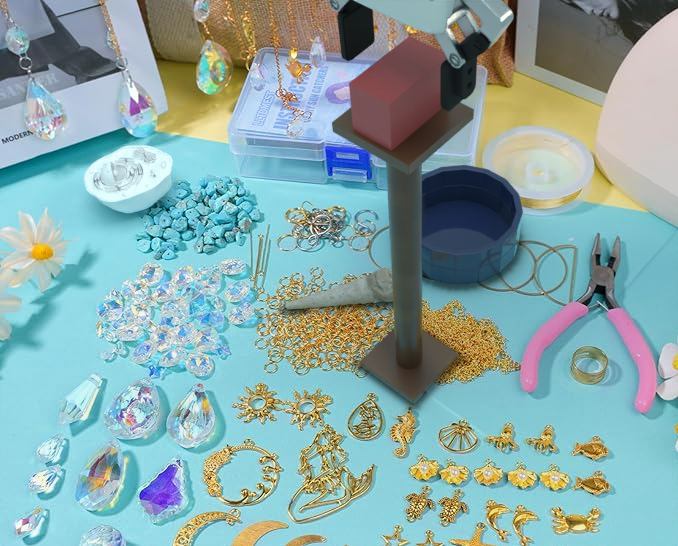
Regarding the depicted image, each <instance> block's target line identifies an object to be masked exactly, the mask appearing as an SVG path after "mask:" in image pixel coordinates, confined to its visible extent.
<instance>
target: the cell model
mask: <svg viewBox="0 0 678 546" xmlns="http://www.w3.org/2000/svg"><path fill="white" fill-rule="evenodd" d="M172 173H173V158H172V156H171V155H170V154H168V153H167V152H165V151H163V150H160V149H158V148H156V147H154V146H151V145H125V146H122V147H120V148H118V149H117V150H115V151H113V152H111V153H109V154H107V155H105V156H103V157H100V158H98V159H97V160H95V161H94V162H93V163H91V164H90V166H88V167H87V169H86V170H85V172H84V174H83V183H84V186H85V189H86V191H87V192H88V193H89V194H90V195H92V196H93V197H94V198H95V199H96V200H98V201H99V202H100V203H101V204H102V205H104V206H106V207H108V208H110V209H112V210H114V211H116V212H120V213H124V214H133V213H137V212H140V211H144V210H147V209H148V208H150V207H152V206H153V205H155V203H157V202H158V201H159V200H160V199H162V197H164V196H165V195H166V194H167V193H168V192H169V191H170V189H171V188H172V186H173V185H172V183H173V179H172V177H173V176H172V175H173V174H172Z"/></svg>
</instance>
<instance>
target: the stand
mask: <svg viewBox="0 0 678 546" xmlns="http://www.w3.org/2000/svg"><path fill="white" fill-rule="evenodd" d="M474 114H475V109H474V108H472V107H470V106H469V105H467V104H465V103H463V102H460V103H459V104H457V105H456V106H455V107H454V108H453V109H452V110H451V111H449V112H448V111H446V110H444V109H441V110H440V111H438V112H437V113H436V114H435V115H434V116H432V117H431V118H430V119H429V120H428V121H427V122H425V123H424V124H423V125H422V126H421V127H419V128H418V129H417V130H416V131H415V132H414V133H412V134H411V135H410V136H409V137H408V138H406V139H405V140H404V141H403V142H402V143H401V144H399V145H398V146H397V147H396V148H395V149H393V150H392V151H390V150H389V149H387V148H385V147H383V146H381V145H380V144H378V143H376V142H374V141H373V140H371V139H369V138H367V137H365V136H364V135H362V134H360V133H358V132H356V131H355V130H353V122H352V112H351V107H349V108H348V109H346V110H345V111H344V112H343V113H342V114H341V115H339V116H338V117H336V118H335V119H333V121H332V122H331V128H332V133H333V134H336V135H337V136H339V137H341V138H342V139H344V140H346V141H348V142H350V143H351V144H353V145H355V146H357V147H358V148H361V149H362V150H364V151H365V152H367V153H369V154H371V155H373V156H374V157H376V158H378V159H380V160H381V161H383V162H385V169H386V189H387V210H388V211H387V212H388V228H389V230H388V231H389V246H390V247H389V248H390V249H389V250H390V270H391V271H392V289H393V301H392V307H393V324H394V327H393V329H392V330H391V331H389V333H388V334H387V335H386V336H385V337H384V338H383V339H382V340H381V341H380V342H379V343H378V344H377V345H376V346H375V347H373V349H372V350H371V351H370V352H368V353H367V354H366V356H364V357H363V359H361V360H360V361H359V365H360V367H361V368H362V369H364V370H365V371H366V372H368V373H369V374H370V375H371V376H373V377H374V378H375V379H377V380H379V381H380V382H381V383H383V385H385V386H387V387H389V388H390V389H391V390H392V391H393V392H395V393H396V394H398V395H399V396H401V397H402V398H404V399H405V400H406V401H407V402H409V403H410V404H411V405H413V406H415V404H416V403H417V402H418V401H420V400H421V398H423V396H425V394H426V393H427V390H428V389H429V388H430V387H431V386H432V385H433V384H434V383H435V382H436V381H437V380H438V379H439V378H440V377H441V376H442V375H443V374H444V373H445V372H446V371H447V370H448V369H449V367H451V365H452V364H453V363H455V362H456V360H457V359H458V358H459V357H460V354H459V353H458V352H456V350H454V349H452V348H451V347H449V346H448V345H446V344H445V343H444V342H442V341H440V340H439V339H437V338H435V337H434V336H433V335H431V334H429V333H428V332H427V331H425V330H424V329H423V274H422V174H423V164H424V163H425V162H426V161H427V160H428V159H429V158H430V157H432V156H433V155H434V154H435V153H436V152H437V151H438V150H440V149H441V148H442V147H443V146H444V145H445V144H446V143H448V142H449V141H450V140H451V139H452V138H453V137H455V136H456V135H457V134H458V133H459V132H461V130H463V129H464V128H465V127H466V126H467V125H468V124H469V123H471V121H473V120H474V116H475V115H474Z"/></svg>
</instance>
